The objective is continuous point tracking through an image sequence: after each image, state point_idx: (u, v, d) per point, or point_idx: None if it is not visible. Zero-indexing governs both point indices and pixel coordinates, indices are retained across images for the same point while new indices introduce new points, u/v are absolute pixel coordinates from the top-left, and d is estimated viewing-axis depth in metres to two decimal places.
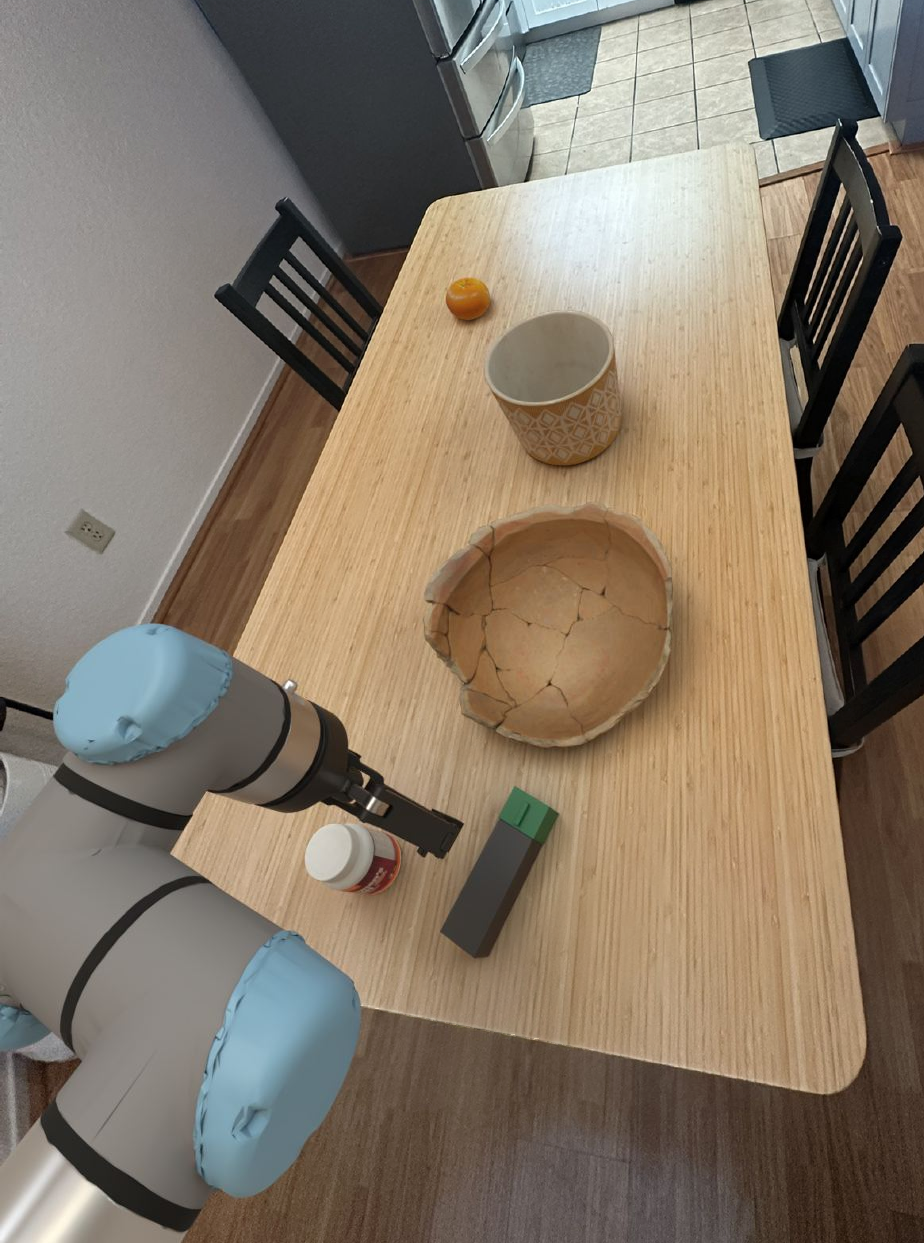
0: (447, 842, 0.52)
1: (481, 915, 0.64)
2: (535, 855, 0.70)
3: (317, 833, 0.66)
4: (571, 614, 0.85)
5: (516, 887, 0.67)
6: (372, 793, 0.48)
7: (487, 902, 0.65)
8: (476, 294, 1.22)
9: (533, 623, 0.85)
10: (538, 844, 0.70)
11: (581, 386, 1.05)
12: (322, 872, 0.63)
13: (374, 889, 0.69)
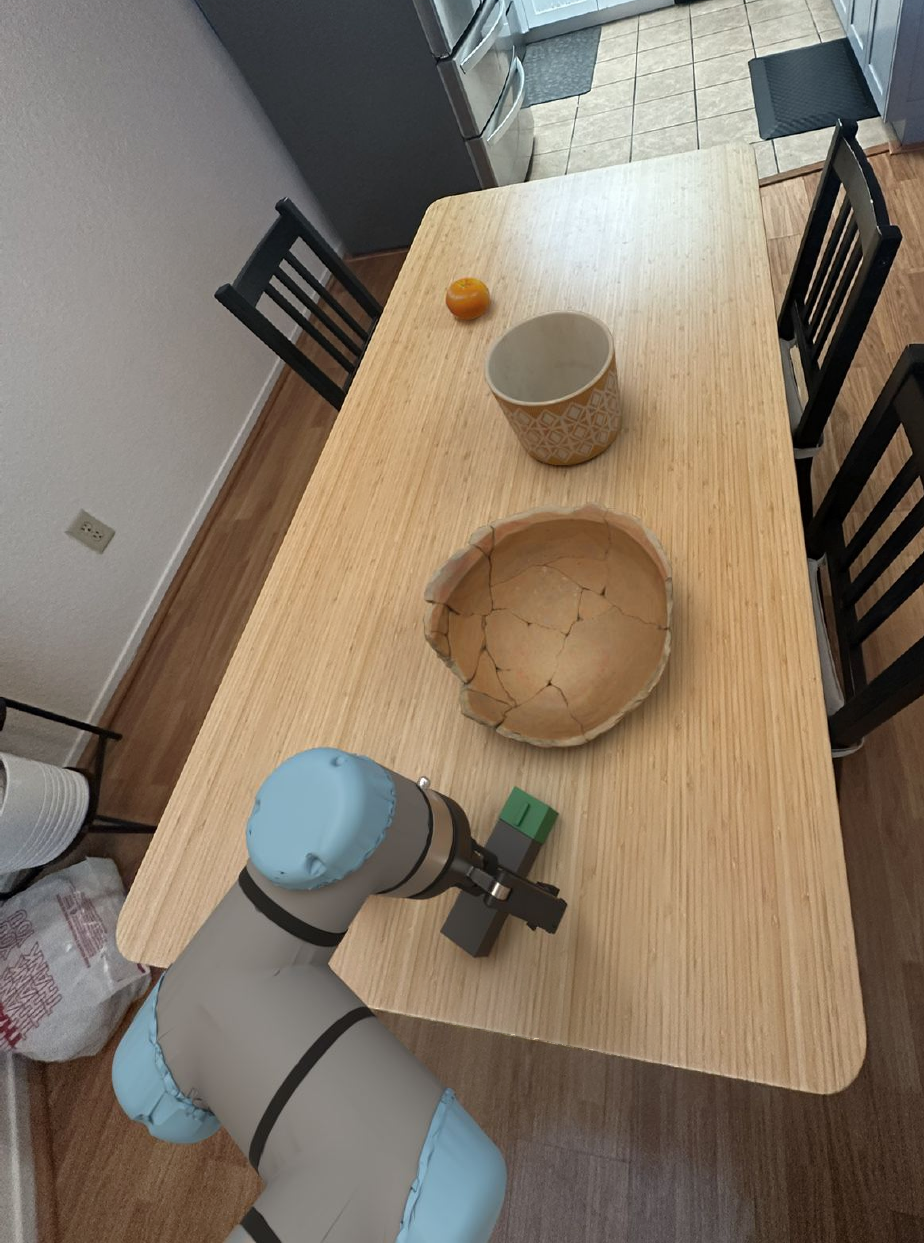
0: (558, 918, 0.55)
1: (481, 915, 0.64)
2: (535, 855, 0.70)
3: None
4: (571, 614, 0.85)
5: None
6: (496, 879, 0.51)
7: None
8: (476, 294, 1.22)
9: (533, 623, 0.85)
10: (538, 844, 0.70)
11: (581, 386, 1.05)
12: None
13: None
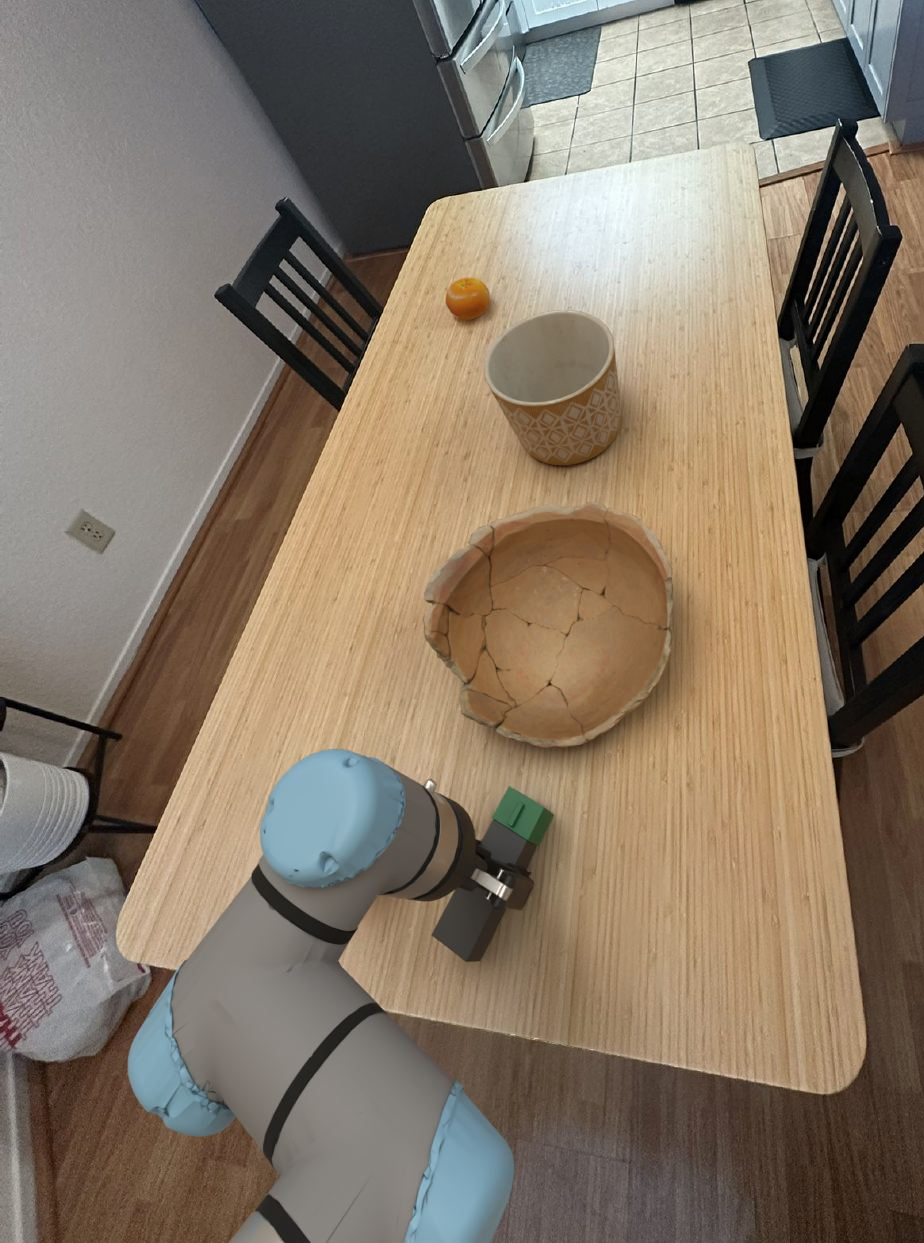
0: (527, 896, 0.60)
1: (473, 918, 0.63)
2: (529, 857, 0.68)
3: None
4: (571, 614, 0.85)
5: None
6: (506, 883, 0.53)
7: (480, 905, 0.64)
8: (476, 294, 1.22)
9: (533, 623, 0.85)
10: (533, 846, 0.68)
11: (581, 386, 1.05)
12: None
13: None
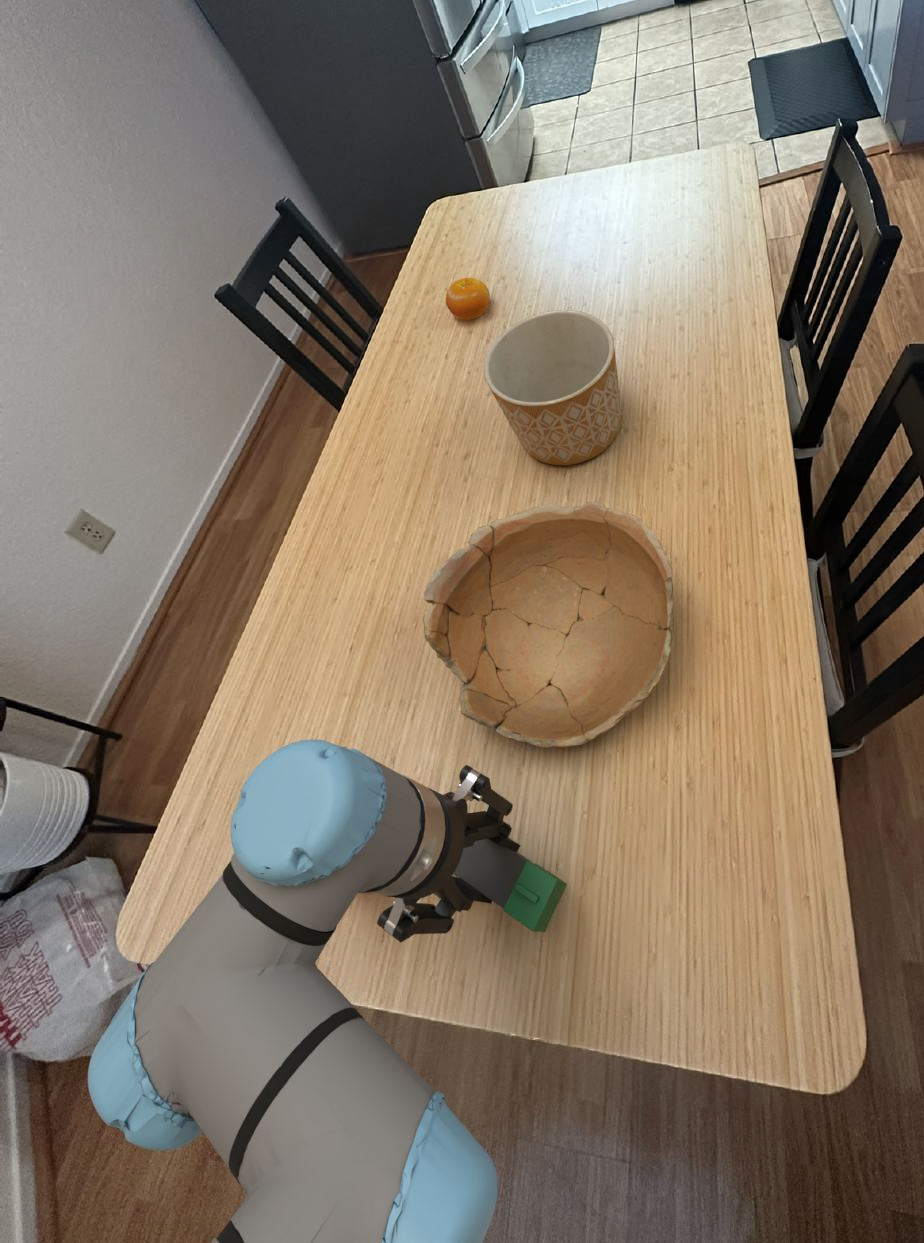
0: None
1: None
2: None
3: None
4: (571, 614, 0.85)
5: None
6: (395, 930, 0.50)
7: None
8: (476, 294, 1.22)
9: (533, 623, 0.85)
10: None
11: (581, 386, 1.05)
12: None
13: None
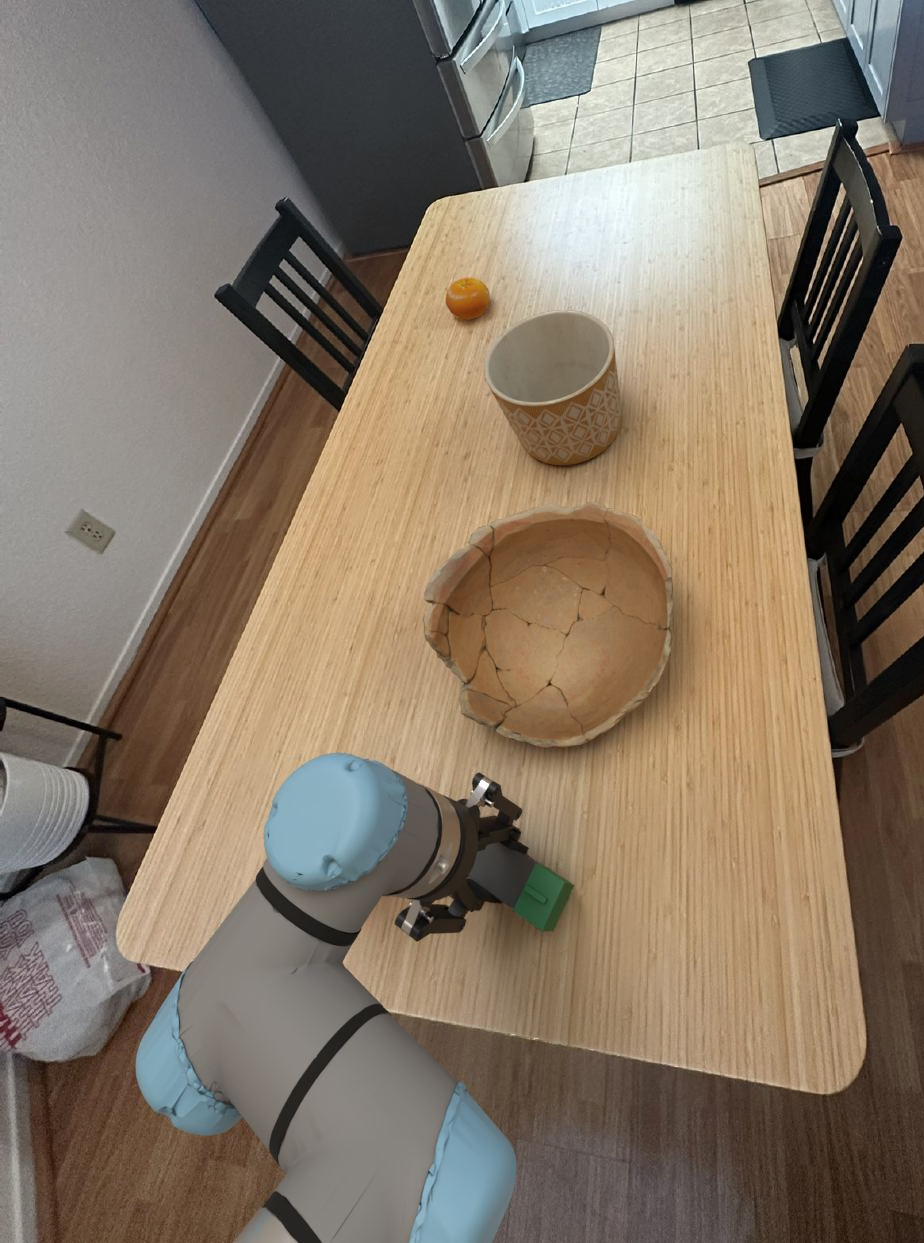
0: None
1: None
2: None
3: None
4: (571, 614, 0.85)
5: None
6: (412, 930, 0.53)
7: None
8: (476, 294, 1.22)
9: (533, 623, 0.85)
10: None
11: (581, 386, 1.05)
12: None
13: None
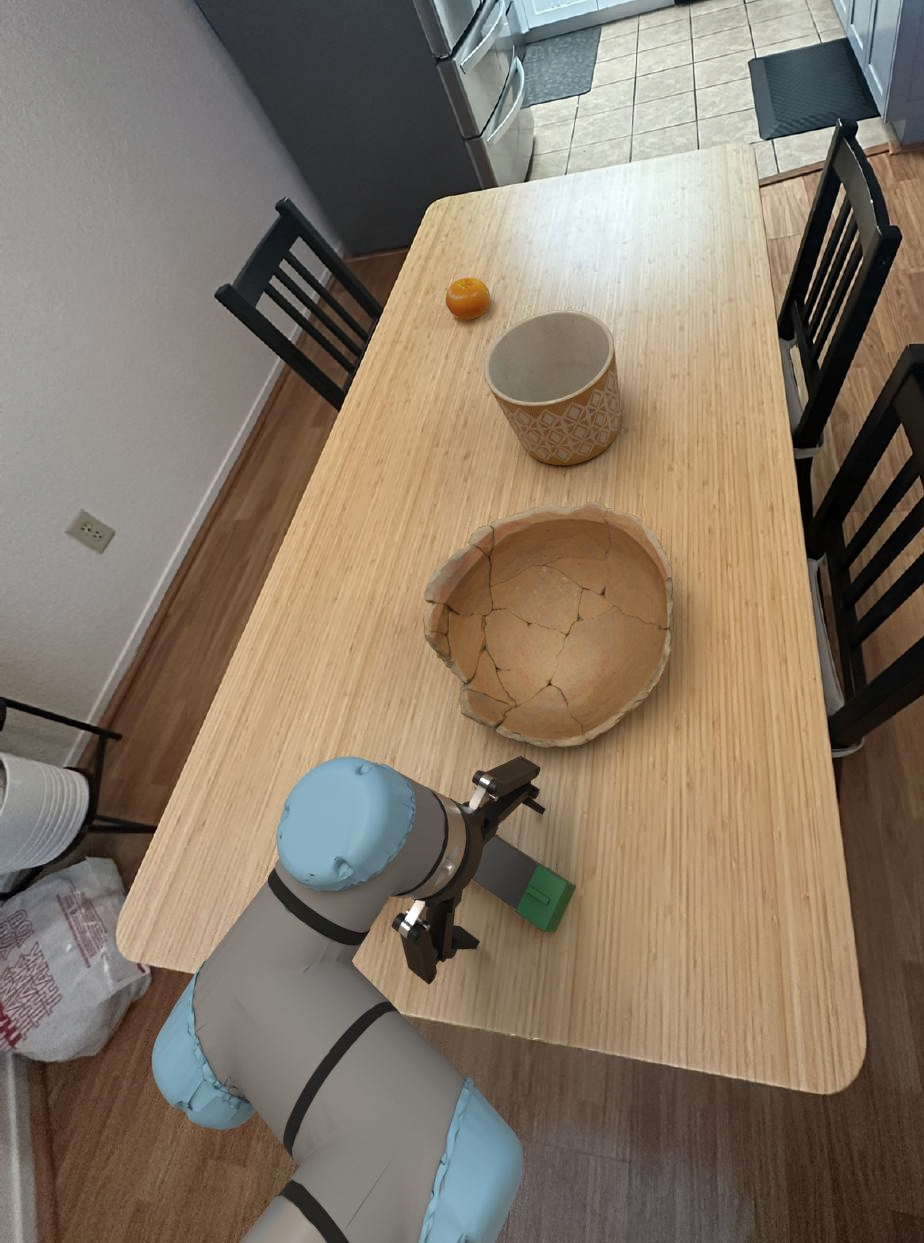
0: (418, 973, 0.58)
1: None
2: None
3: None
4: (571, 614, 0.85)
5: None
6: (411, 929, 0.53)
7: None
8: (476, 294, 1.22)
9: (533, 623, 0.85)
10: None
11: (581, 386, 1.05)
12: None
13: None
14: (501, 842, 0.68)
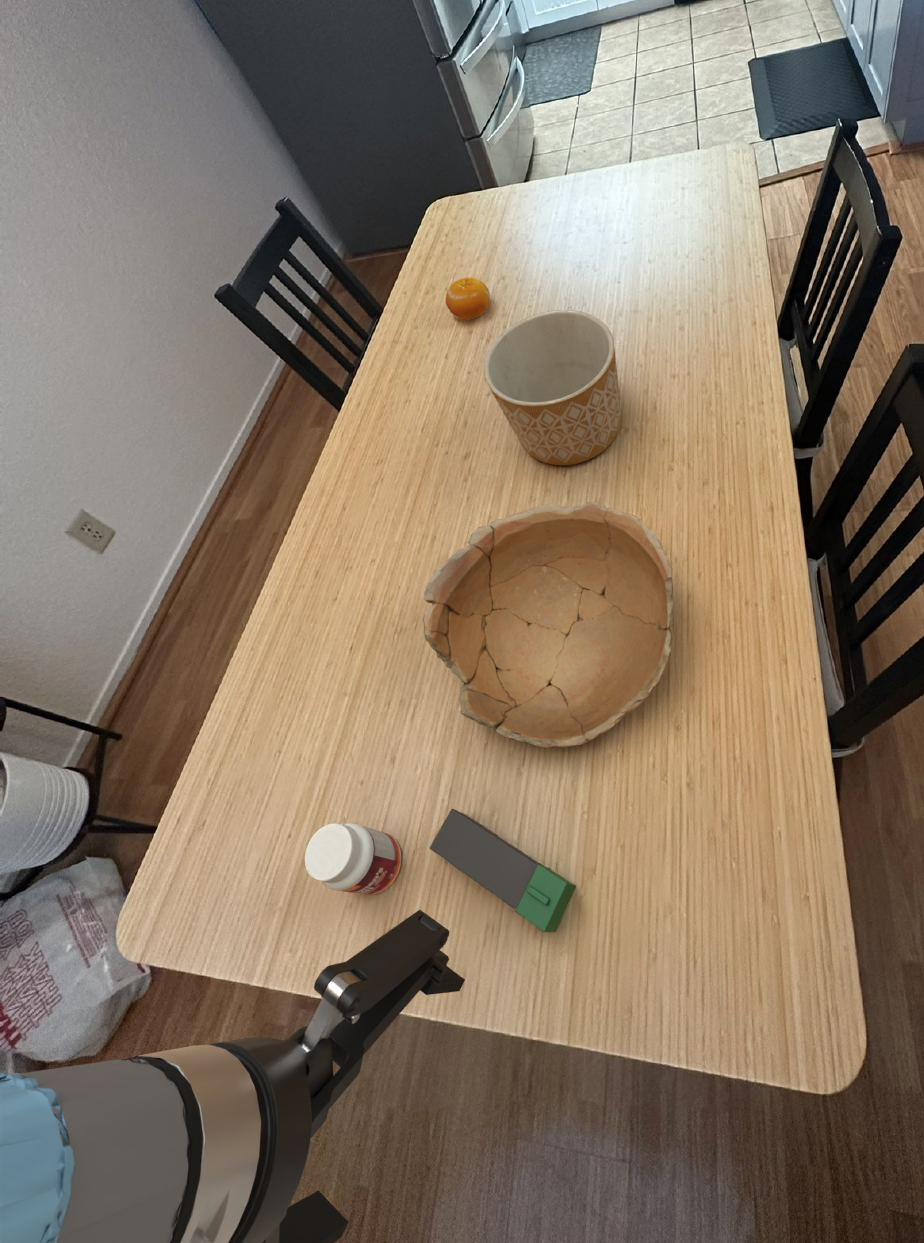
0: None
1: (458, 852, 0.68)
2: None
3: (317, 833, 0.66)
4: (571, 614, 0.85)
5: None
6: None
7: (467, 858, 0.68)
8: (476, 294, 1.22)
9: (533, 623, 0.85)
10: None
11: (581, 386, 1.05)
12: (322, 872, 0.63)
13: (374, 889, 0.69)
14: (501, 842, 0.68)
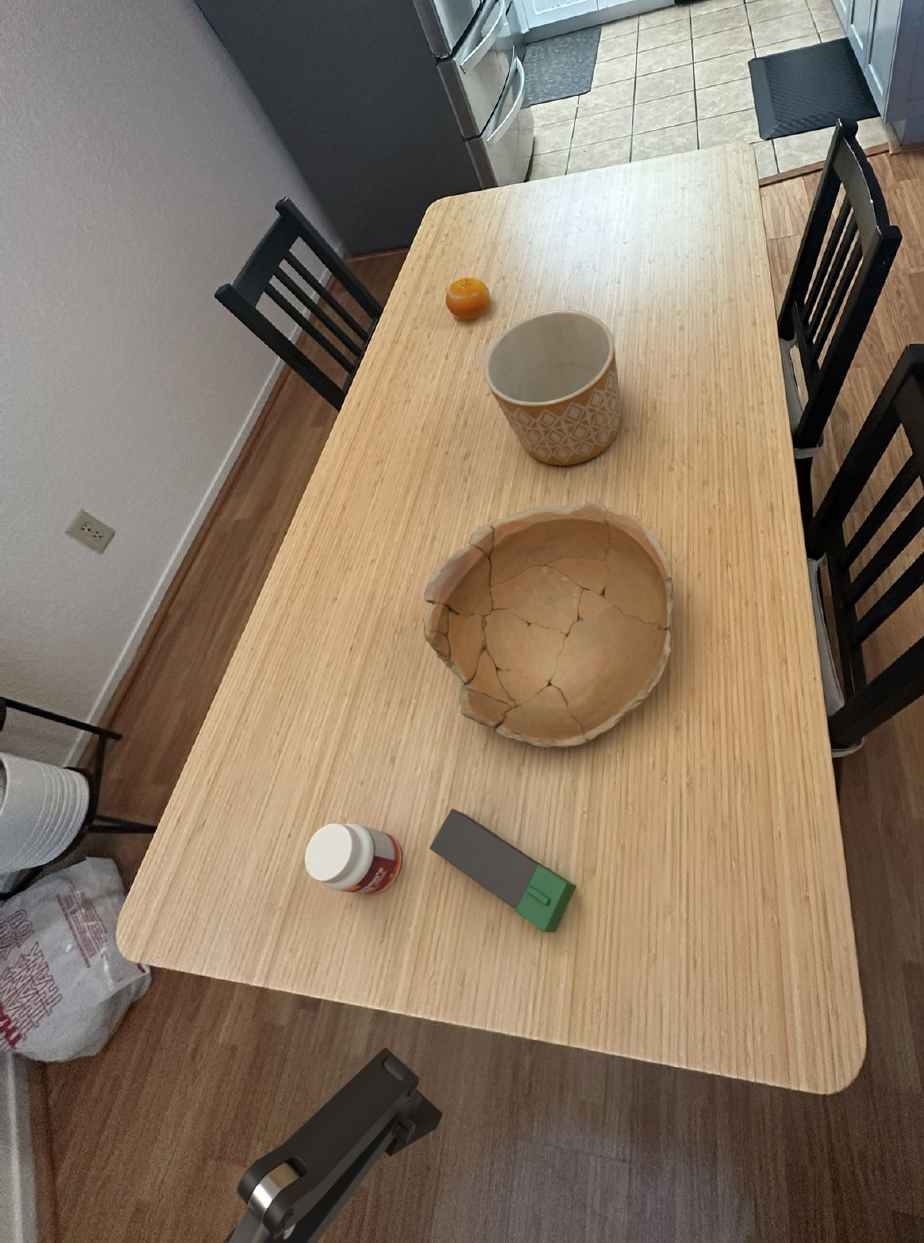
0: None
1: (458, 852, 0.68)
2: None
3: (317, 833, 0.66)
4: (571, 614, 0.85)
5: None
6: None
7: (467, 858, 0.68)
8: (476, 294, 1.22)
9: (533, 623, 0.85)
10: None
11: (581, 386, 1.05)
12: (322, 872, 0.63)
13: (374, 889, 0.69)
14: (501, 842, 0.68)
